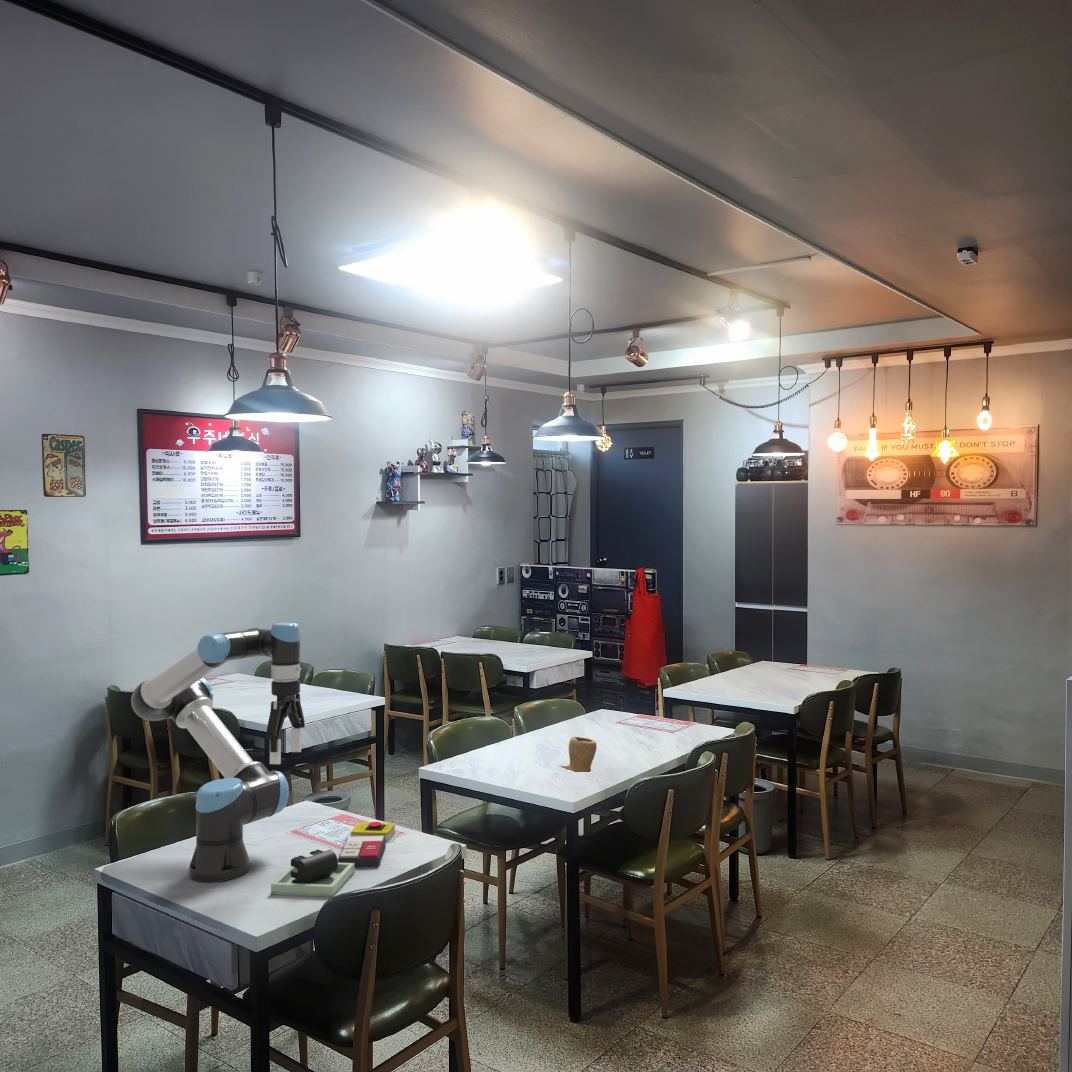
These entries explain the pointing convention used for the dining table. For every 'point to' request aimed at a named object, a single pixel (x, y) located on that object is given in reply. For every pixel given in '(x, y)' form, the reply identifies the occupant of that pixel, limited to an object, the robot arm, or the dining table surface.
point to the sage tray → (317, 888)
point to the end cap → (314, 866)
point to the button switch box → (363, 851)
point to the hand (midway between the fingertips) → (285, 757)
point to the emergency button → (375, 830)
